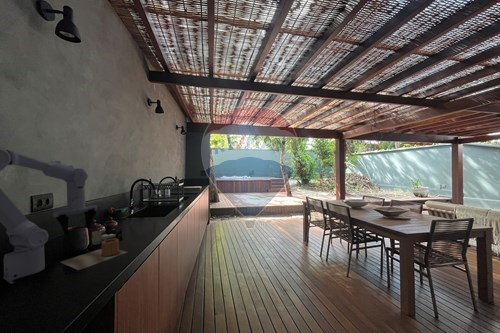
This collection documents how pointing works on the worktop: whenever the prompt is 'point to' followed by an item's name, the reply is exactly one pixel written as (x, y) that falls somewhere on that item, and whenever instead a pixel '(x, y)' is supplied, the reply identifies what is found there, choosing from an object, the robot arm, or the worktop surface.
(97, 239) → the valve
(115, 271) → the worktop surface
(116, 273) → the worktop surface
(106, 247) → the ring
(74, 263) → the post board
